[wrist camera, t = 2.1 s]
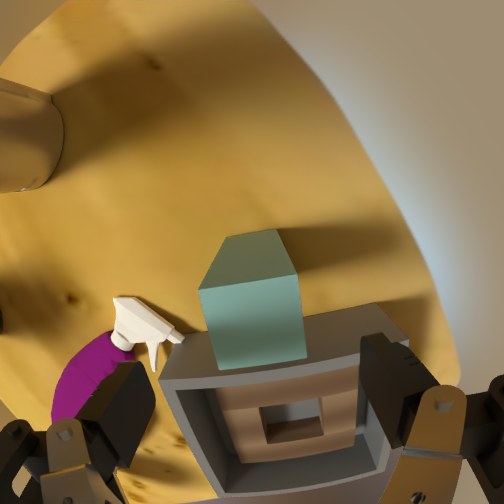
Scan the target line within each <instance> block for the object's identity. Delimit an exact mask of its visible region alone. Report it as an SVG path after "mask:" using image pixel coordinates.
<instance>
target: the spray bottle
mask: <svg viewBox="0 0 504 504" xmlns="http://www.w3.org/2000/svg"><path fill="white" fill-rule="evenodd" d="M113 301H114V304H115V308H116V321H115V325H114V328H115V329H114V331H113V332H111V331H108V332H105V333H104V334H102V335H100V336H99V337H97V338H96V339H94V340H93V341H91V342H90V343H89V344H88V345H86V346H85V347H84V348H83V349H82V350H80V351H79V352H78V353H77V354H76V355H75V356H74V357H73V358H72V359H71V360H70V361H69V363H68V364H67V366H66V367H65V369H64V371H63V373H62V375H61V377H60V379H59V381H58V384H57V386H56V389H55V394H54V399H53V405H52V411H51V418H52V424H53V423H54V422H56V421H58V420H60V419H63V418H74V417H75V416H76V414H77V413H78V412H79V410H80V409H81V408H82V406H83V405H84V403H85V402H86V401H87V399H88V398H89V397H91V394H92V393H93V391H94V390H96V387H97V386H98V385H99V383H100V382H101V381H102V380H103V379H104V378H106V377H107V376H108V375H110V374H111V373H113V372H114V370H115V369H116V368H117V366H118V365H119V364H120V362H122V361H132V360H133V359H134V358H135V355H134V350H133V346H134V344H135V343H142V342H146V344H147V346H148V349H149V356H150V363H151V367H152V371H153V372H156V371H157V358H158V348H159V345H160V343H161V342H164V341H165V340H166V339H168V340H169V341H171V342H172V343H174V344H175V343H181V342H182V341H183V339H185V337H184V336H183V335H181V334H180V333H179V332H177V331H176V330H175V329H174V328H175V327H174V326H173V325H172V324H170V323H169V322H168V321H166V320H165V319H164V318H162V317H161V316H160V315H158V314H157V313H156V312H155V311H153V310H152V309H151V308H149V307H148V306H147V305H146V304H144V303H143V302H142V301H140V300H139V299H137V298H136V297H115V298H113Z"/></svg>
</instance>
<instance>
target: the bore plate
mask: <svg viewBox="0 0 504 504" xmlns="http://www.w3.org/2000/svg"><path fill="white" fill-rule="evenodd" d="M358 369H359V365H355V366H350V367H346V368H342V369H337V370H333V371H328V372H323V373H318V374H313V375H308V376H302V377H297V378H291V379H284V380H278V381H271V382H264V383H256V384H248V385H239V386H229V387H218V388H214V389H215V392H216V395H217V398H218V401H219V404H220V407H221V410H222V413H223V416H224V418H225V421H226V424H227V427H228V430H229V432H230V435H231V438H232V441H233V443H234V446H235V449H236V451H237V454H238V456H239V459H240V462H241V464H242V463H255V462H266V461H275V460H283V459H290V458H297V457H303V456H309V455H314V454H320V453H325V452H329V451H334V450H338V449H343V448H347V447H351V446H354V439H355V427H356V414H357V397H358ZM315 398H318V405H319V416H315V417H310V418H304V419H298V420H292V421H286V422H279V423H271V424H266V420H265V416H264V412H263V407H266V406H273V405H280V404H287V403H293V402H299V401H305V400H310V399H315Z"/></svg>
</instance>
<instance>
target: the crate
mask: <svg viewBox="0 0 504 504" xmlns="http://www.w3.org/2000/svg"><path fill="white" fill-rule="evenodd" d="M303 324H304V333H305V342H306V351H307V358H304V359H298V360H292V361H286V362H280V363H273V364H267V365H260V366H252V367H244V368H236V369H226V370H219V368H218V364H217V361H216V357H215V354H214V350H213V347H212V343H211V339H210V336H209V332H208V331H206V332H198V333H188V334H181V335H183V336H184V337H185V339H183V341H182V342H181V343H175V345H174V347H173V349H172V351H171V353H170V355H169V357H168V359H167V362H166V364H165V366H164V368H163V370H162V372H161V374H160V376H159V379H158V381H159V384H160V386H161V388H162V391H163V393H164V395H165V398H166V400H167V402H168V404H169V407H170V409H171V411H172V413H173V415H174V417H175V419H176V421H177V424H178V426H179V428H180V430H181V432H182V434H183V436H184V438H185V440H186V441H187V443H188V445H189V447H190V449H191V451H192V453H193V455H194V457H195V458H196V460H197V462H198V464H199V466H200V467H201V469H202V471H203V472H204V474H205V476H206V478H207V479H208V481H209V483H210V484H211V486H212V488H213V489H214V491H215V492H216V494H217V496H218V497H246V496H262V495H273V494H282V493H290V492H297V491H304V490H310V489H315V488H321V487H326V486H331V485H336V484H340V483H344V482H348V481H352V480H356V479H360V478H363V477H367V476H370V475H374V474H377V473H380V472H383V471H384V470H385V467H386V463H387V460H388V457H389V453H390V449H391V446H390V444H389V442H388V440H387V437H386V435H385V433H384V431H383V429H382V427H381V425H380V423H379V420H378V418H377V416H376V414H375V412H374V410H373V408H372V406H371V404H370V402H369V400H368V398H367V396H366V394H365V392H364V390H363V387H362V385H361V381H360V373H359V370H360V340H361V337H362V336H365V335H369V334H374V333H378V332H383V333H384V335H385V336H386V337H387V338H388V339H389V341H390V342H391V343H393V342H399V343H401V344H403V345H405V346H407V347H408V348H409V338H408V337H407V336H406V335H405V334H404V333H403V332H402V330H401V329H400V328H399V327H398V326H397V325H396V324H395V323H394V322H393V321H392V320H391V319H390V317H389V316H388V315H387V314H386V313H385V312H384V311H383V310H382V309H381V308H380V307H379V306H378V305H377V304H376V303H370V304H366V305H361V306H357V307H352V308H347V309H343V310H338V311H333V312H328V313H323V314H317V315H312V316H307V317H303ZM355 365H359V369H358V397H357V414H356V427H355V439H354V446H351V447H347V448H343V449H338V450H334V451H329V452H325V453H320V454H314V455H309V456H303V457H297V458H290V459H283V460H275V461H266V462H255V463H242V464H241V462H240V459H239V456H238V454H237V451H236V449H235V446H234V443H233V441H232V438H231V435H230V432H229V430H228V427H227V424H226V421H225V418H224V416H223V413H222V410H221V407H220V404H219V401H218V398H217V395H216V392H215V389H214V388H218V387H229V386H239V385H248V384H256V383H264V382H271V381H278V380H284V379H291V378H297V377H302V376H308V375H313V374H318V373H323V372H328V371H333V370H337V369H342V368H346V367H350V366H355ZM263 412H264V416H265V420H266V424H271V423H279V422H286V421H292V420H298V419H304V418H310V417H315V416H319V405H318V398H315V399H310V400H305V401H299V402H293V403H287V404H280V405H273V406H266V407H263Z"/></svg>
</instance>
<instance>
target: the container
mask: <svg viewBox="0 0 504 504" xmlns="http://www.w3.org/2000/svg"><path fill="white" fill-rule="evenodd" d="M1 331H2V316H1V312H0V333H1Z"/></svg>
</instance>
